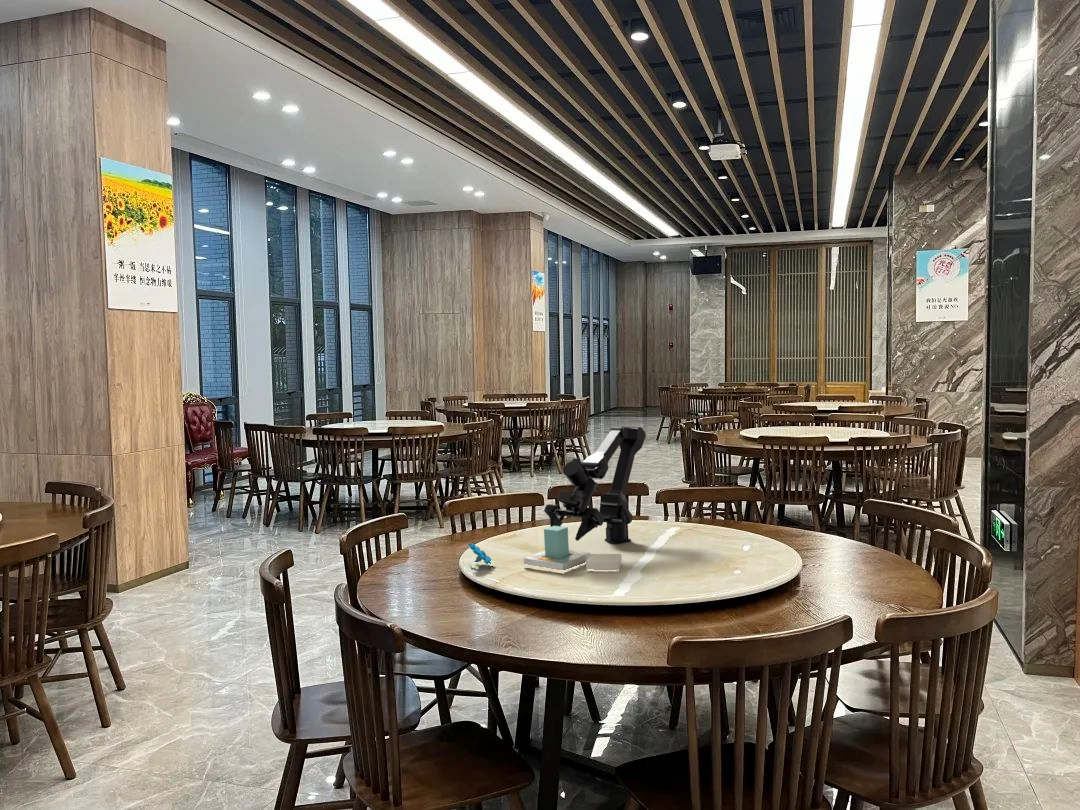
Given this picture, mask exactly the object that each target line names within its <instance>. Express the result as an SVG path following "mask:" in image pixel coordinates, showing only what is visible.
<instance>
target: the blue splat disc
mask: <svg viewBox="0 0 1080 810" xmlns="http://www.w3.org/2000/svg"><path fill="white" fill-rule="evenodd" d="M468 546H469V549H471V550H472V552H473V554H475V555H477V556H476V557H475V560H474V561H473V562H478V563H479V562H482V560H483V563H485V564H486V565H489V564H488V563H490V564H491V562H490V561H491V560H492V558H491V556H489V555H487V553H486V552H485V550H484V549H482V550H481V548H480V547H479V546H476V545H475V544H474V543H473V542H470V543H469V544H468Z"/></svg>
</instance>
